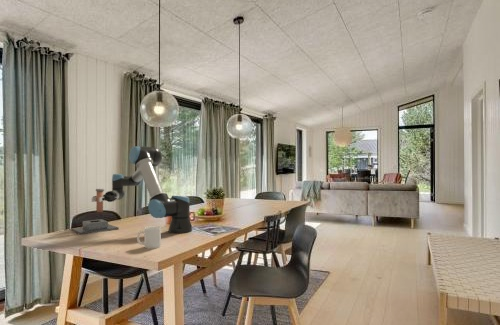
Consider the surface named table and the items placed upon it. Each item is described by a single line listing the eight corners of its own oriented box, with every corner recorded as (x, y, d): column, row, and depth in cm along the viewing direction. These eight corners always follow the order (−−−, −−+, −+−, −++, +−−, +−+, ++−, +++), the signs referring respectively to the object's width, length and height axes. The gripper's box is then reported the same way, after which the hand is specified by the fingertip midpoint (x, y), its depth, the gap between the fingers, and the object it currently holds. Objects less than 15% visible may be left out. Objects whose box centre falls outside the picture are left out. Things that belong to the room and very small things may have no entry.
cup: (161, 248, 169) (161, 228, 169) (137, 250, 165) (137, 230, 165) (159, 244, 177) (159, 225, 177) (136, 246, 172) (136, 227, 172)
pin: (102, 210, 219) (102, 188, 219) (105, 211, 215) (105, 189, 215) (94, 211, 215) (94, 189, 215) (97, 212, 212) (97, 189, 212)
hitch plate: (108, 225, 231) (108, 217, 231) (118, 229, 219) (118, 220, 219) (71, 230, 215) (71, 221, 215) (80, 234, 202) (80, 225, 202)
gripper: (123, 201, 233) (108, 205, 210) (100, 201, 233) (82, 205, 210) (123, 191, 233) (108, 194, 210) (100, 190, 233) (82, 193, 210)
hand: (95, 199), depth 210 cm, fingers closed on pin, 4 cm apart
